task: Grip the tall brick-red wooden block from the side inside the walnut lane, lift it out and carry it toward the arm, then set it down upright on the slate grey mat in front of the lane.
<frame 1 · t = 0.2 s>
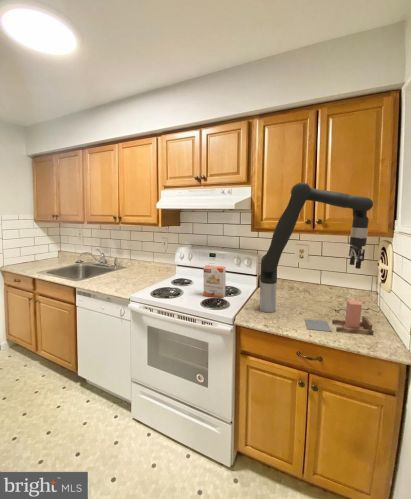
hand: (354, 266, 136), 29 cm above the worktop, tool pointing down, fingers open, 8 cm apart
cracker box: (214, 296, 174), on the worktop
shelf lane: (351, 328, 128), on the worktop
red block: (351, 328, 128), resting in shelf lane
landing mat: (317, 325, 132), on the worktop
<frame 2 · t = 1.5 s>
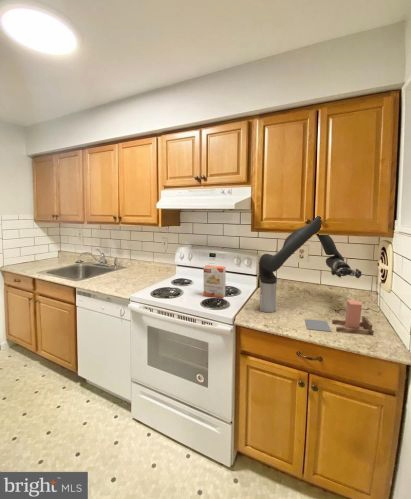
hand: (349, 276, 134), 24 cm above the worktop, tool horizontal, fingers open, 8 cm apart
nothing on the worktop moved.
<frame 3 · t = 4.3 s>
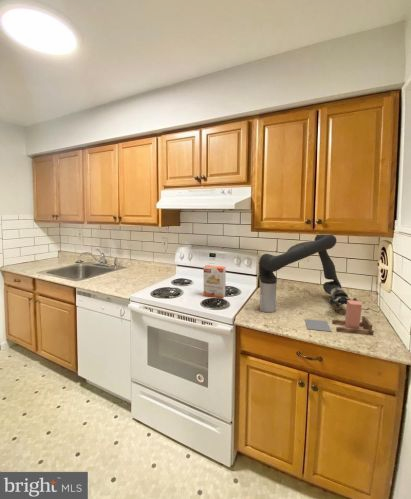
hand: (347, 306, 135), 8 cm above the worktop, tool horizontal, fingers open, 8 cm apart
nothing on the worktop moved.
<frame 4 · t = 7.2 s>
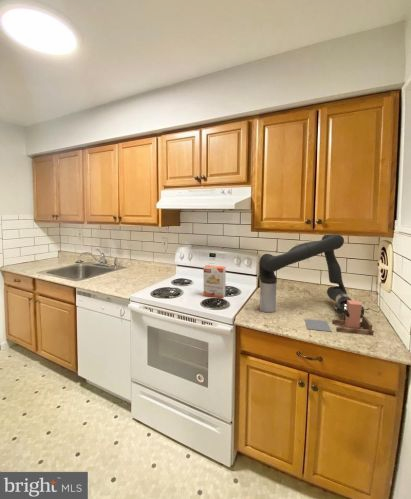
hand: (354, 316, 124), 8 cm above the worktop, tool horizontal, fingers closed on red block, 5 cm apart
red block: (351, 328, 128), resting in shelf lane, touching gripper
everything else where it was.
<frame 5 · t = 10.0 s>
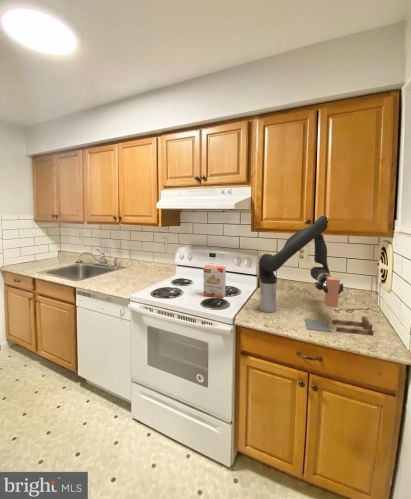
hand: (333, 291, 124), 20 cm above the worktop, tool horizontal, fingers closed on red block, 5 cm apart
red block: (330, 305, 128), point 12 cm above the worktop, touching gripper
everything else where it was.
when the fingers open (10 cm above the worktop, at t = 12.9 s): red block drops 1 cm, resting on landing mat.
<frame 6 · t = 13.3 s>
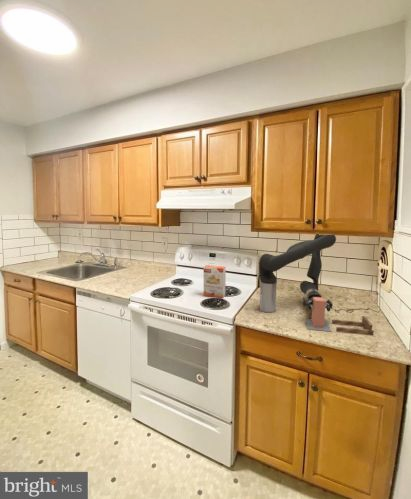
hand: (319, 308, 128), 10 cm above the worktop, tool horizontal, fingers open, 8 cm apart
red block: (317, 324, 132), resting on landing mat
everything else where it was.
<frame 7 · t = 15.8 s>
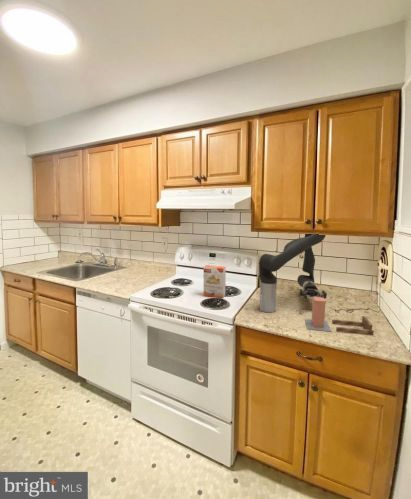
hand: (314, 298, 140), 11 cm above the worktop, tool horizontal, fingers open, 8 cm apart
nothing on the worktop moved.
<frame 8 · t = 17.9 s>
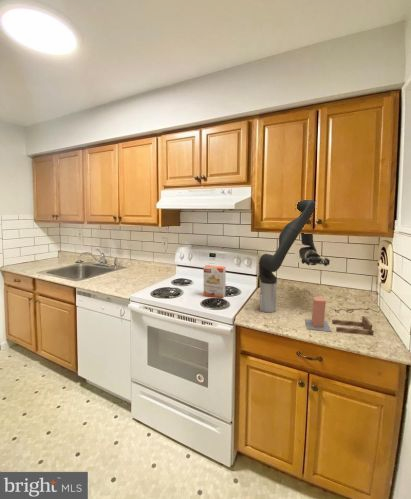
hand: (317, 263, 137), 30 cm above the worktop, tool horizontal, fingers open, 8 cm apart
nothing on the worktop moved.
at the end: red block inside the target area (0.1 cm from its centre), resting on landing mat; red block tilted 0°; the gripper is holding nothing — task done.
